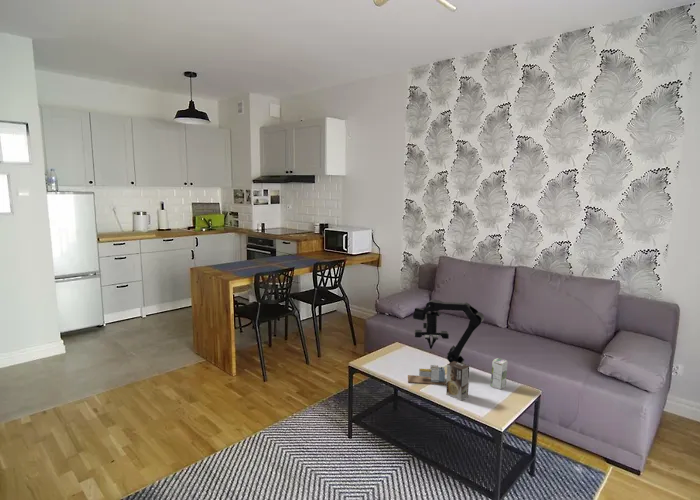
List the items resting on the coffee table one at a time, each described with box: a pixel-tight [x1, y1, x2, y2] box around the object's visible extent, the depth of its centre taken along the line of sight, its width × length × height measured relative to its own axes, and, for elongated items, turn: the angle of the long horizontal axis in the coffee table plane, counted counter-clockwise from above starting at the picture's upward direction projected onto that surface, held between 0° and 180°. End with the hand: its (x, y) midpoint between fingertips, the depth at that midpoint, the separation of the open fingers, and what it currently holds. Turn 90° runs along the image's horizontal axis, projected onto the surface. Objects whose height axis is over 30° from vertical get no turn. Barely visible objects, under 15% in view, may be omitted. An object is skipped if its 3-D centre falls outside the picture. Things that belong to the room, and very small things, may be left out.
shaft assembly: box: [418, 366, 446, 383], centre depth 225 cm, size 13×5×6 cm, turn 84°
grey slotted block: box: [429, 364, 439, 382], centre depth 225 cm, size 4×7×7 cm, turn 174°
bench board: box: [407, 374, 447, 386], centre depth 226 cm, size 20×8×1 cm, turn 84°
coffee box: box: [445, 361, 470, 401], centre depth 209 cm, size 9×6×16 cm
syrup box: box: [490, 357, 509, 390], centre depth 219 cm, size 6×6×14 cm
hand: (430, 348), depth 239 cm, fingers closed
